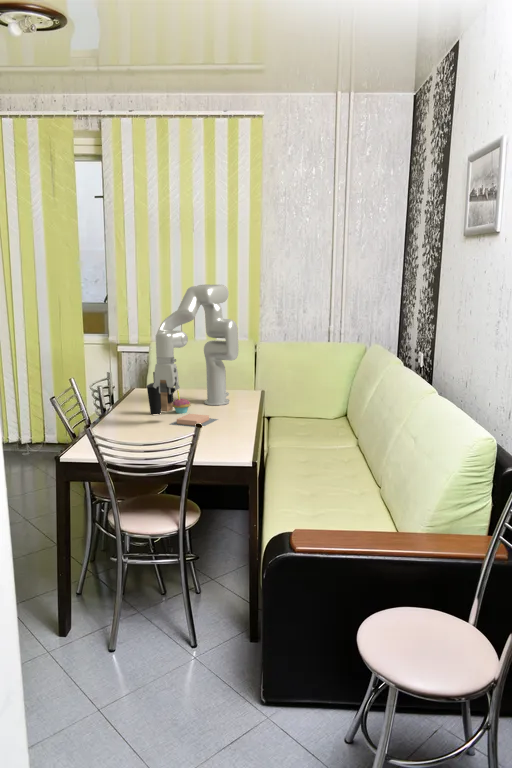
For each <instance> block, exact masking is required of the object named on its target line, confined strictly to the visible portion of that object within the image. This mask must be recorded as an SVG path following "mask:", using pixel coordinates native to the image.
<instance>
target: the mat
mask: <svg viewBox="0 0 512 768" xmlns="http://www.w3.org/2000/svg"><path fill="white" fill-rule="evenodd" d="M216 421H219V418H210V417H209V420H208V421H206V422H204V423H202V426H204V427H206V426H209V425H210V424H212V423H214V422H216ZM168 425H171V426H178V427H179V426H180V427H190V428H196V427H195V426H193V425H183V424H177V420H176V421H173V422H171V423H169V424H168Z"/></svg>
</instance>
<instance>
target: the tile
mask: <svg viewBox="0 0 512 768" xmlns="http://www.w3.org/2000/svg"><path fill="white" fill-rule="evenodd" d="M209 418H210V415H206V414H197V413H187V414H185V415H183V416H181V417H179V418H176V421H177V424H183V425H193V426H195V424H197V423H201V424H202V423H204V422H206V421H208V420H209Z"/></svg>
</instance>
